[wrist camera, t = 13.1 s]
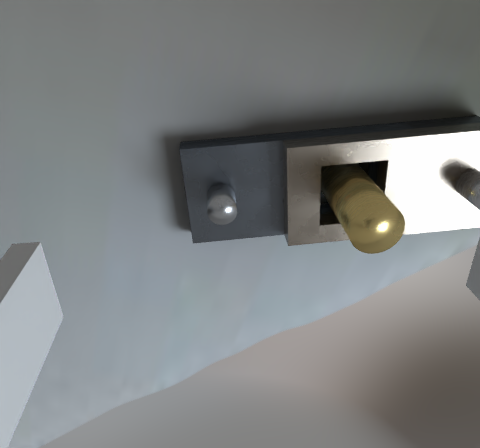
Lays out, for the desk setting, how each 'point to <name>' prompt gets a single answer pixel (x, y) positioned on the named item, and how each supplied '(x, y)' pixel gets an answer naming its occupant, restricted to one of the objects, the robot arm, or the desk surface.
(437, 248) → the desk surface
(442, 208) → the door bolt
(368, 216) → the brass pin
